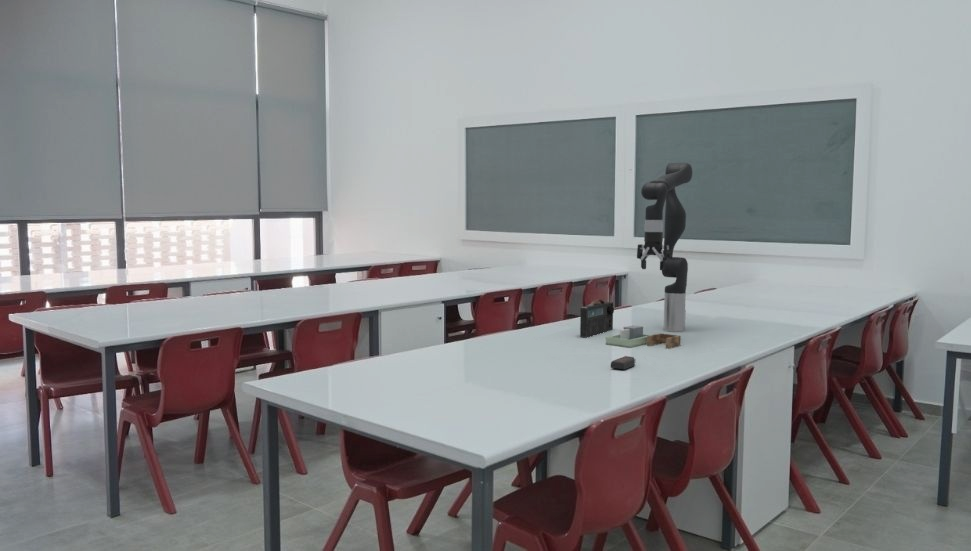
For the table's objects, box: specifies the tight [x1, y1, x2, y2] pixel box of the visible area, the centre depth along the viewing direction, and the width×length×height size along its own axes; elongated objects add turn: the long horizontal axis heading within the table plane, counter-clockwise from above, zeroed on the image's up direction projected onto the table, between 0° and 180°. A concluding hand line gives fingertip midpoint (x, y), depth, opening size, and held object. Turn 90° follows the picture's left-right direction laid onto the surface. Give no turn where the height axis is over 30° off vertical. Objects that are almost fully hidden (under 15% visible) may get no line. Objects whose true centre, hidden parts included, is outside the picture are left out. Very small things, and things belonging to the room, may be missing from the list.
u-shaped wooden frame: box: [646, 333, 682, 349], centre depth 321 cm, size 10×10×4 cm
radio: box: [579, 286, 615, 339], centre depth 351 cm, size 25×4×20 cm, turn 145°
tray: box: [605, 333, 651, 349], centre depth 326 cm, size 18×12×3 cm, turn 137°
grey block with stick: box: [619, 325, 644, 340], centre depth 326 cm, size 12×5×6 cm, turn 137°
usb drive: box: [610, 355, 637, 370], centre depth 281 cm, size 5×12×3 cm, turn 146°
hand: (652, 269), depth 331 cm, fingers open, 8 cm apart
